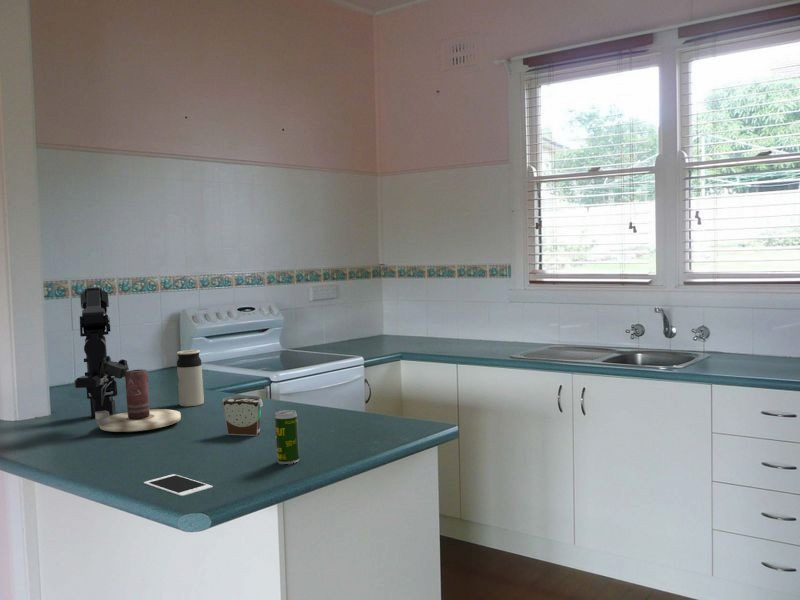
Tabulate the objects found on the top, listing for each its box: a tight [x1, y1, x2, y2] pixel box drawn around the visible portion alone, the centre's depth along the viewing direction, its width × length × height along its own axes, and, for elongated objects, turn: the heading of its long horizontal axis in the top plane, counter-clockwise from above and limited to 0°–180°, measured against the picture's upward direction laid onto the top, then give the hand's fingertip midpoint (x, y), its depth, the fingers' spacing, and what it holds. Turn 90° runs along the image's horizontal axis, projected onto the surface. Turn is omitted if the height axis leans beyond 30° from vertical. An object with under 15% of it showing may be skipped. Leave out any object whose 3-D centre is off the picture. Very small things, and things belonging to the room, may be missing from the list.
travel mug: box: [176, 349, 205, 408], centre depth 266 cm, size 8×8×18 cm
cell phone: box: [143, 473, 214, 497], centre depth 175 cm, size 8×16×1 cm, turn 47°
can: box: [124, 369, 150, 419], centre depth 235 cm, size 6×6×14 cm
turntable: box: [94, 408, 182, 433], centre depth 236 cm, size 24×23×5 cm
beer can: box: [274, 409, 300, 465], centre depth 189 cm, size 5×5×12 cm
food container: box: [220, 395, 264, 437], centre depth 222 cm, size 12×6×10 cm, turn 71°
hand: (100, 406), depth 235 cm, fingers closed
